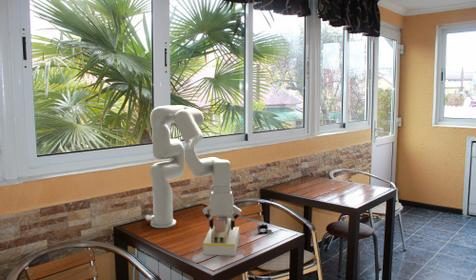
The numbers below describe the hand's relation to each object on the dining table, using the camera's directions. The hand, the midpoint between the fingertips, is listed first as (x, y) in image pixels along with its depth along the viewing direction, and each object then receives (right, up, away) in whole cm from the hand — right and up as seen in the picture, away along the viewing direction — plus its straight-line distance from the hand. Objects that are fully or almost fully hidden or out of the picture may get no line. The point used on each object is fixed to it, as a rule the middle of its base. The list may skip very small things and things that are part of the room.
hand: (222, 228), depth 172 cm
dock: (0, -8, +1) cm, 8 cm away
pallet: (0, -3, +1) cm, 3 cm away
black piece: (+18, -6, +17) cm, 26 cm away
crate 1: (0, +2, +6) cm, 6 cm away
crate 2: (-1, +1, -6) cm, 6 cm away
